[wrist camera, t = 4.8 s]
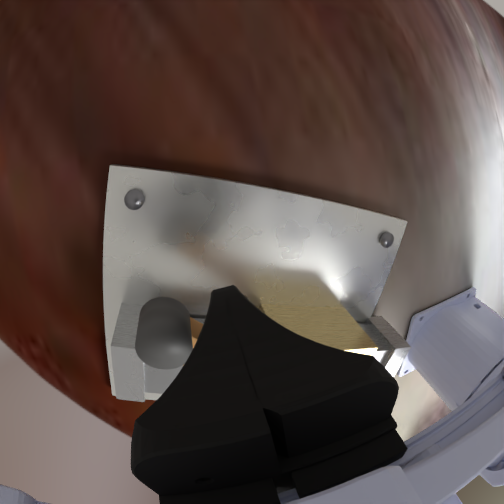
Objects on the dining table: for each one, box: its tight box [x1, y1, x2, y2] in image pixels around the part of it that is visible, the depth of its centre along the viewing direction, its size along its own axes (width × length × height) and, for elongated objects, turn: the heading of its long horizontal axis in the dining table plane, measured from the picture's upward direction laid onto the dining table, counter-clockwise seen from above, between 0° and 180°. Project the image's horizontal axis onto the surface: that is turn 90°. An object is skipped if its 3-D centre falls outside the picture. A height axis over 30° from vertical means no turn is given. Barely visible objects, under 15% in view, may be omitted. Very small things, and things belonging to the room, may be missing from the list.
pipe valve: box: [111, 303, 411, 402], centre depth 17 cm, size 18×6×5 cm, turn 77°
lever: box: [135, 297, 203, 370], centre depth 12 cm, size 12×3×2 cm, turn 49°
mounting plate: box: [103, 164, 408, 400], centre depth 18 cm, size 18×16×1 cm
